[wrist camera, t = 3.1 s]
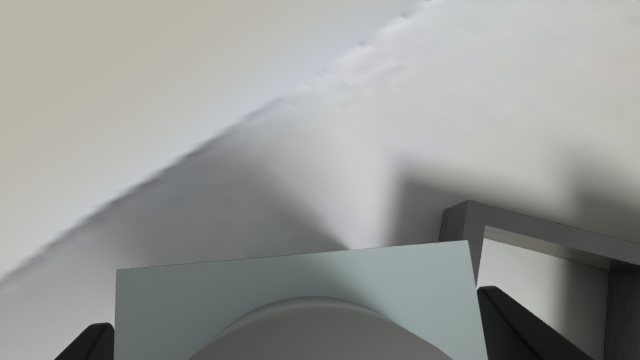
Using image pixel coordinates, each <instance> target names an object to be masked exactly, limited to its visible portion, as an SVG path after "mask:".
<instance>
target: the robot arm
mask: <svg viewBox="0 0 640 360" xmlns="http://www.w3.org/2000/svg"><path fill="white" fill-rule="evenodd" d="M477 298H478V303H479V309H480V315H481V321H482V327H483V333H484V339H485V345H486V351H487V357H488V360H594V359H593V358H591V357H590V356H589V355H587V354H586V353H585V352H583V351H582V350H581V349H579V348H578V347H577V346H575V345H574V344H573V343H571V342H570V341H569V340H567V339H566V338H565V337H563V336H562V335H561V334H559V333H558V332H557V331H555V330H554V329H553V328H551V327H550V326H549V325H547V324H546V323H545V322H543V321H542V320H541V319H539V318H538V317H537V316H535V315H534V314H533V313H531V312H530V311H529V310H527V309H526V308H525V307H523V306H522V305H521V304H519V303H518V302H517V301H515V300H514V299H513V298H511V297H510V296H509V295H507V294H506V293H505V292H503V291H502V290H501V289H499V288H498V287H496V286H484V287H479V288H478V290H477ZM114 335H115V330H114V328H113V326H112V325H111V324H110V323H107V322H106V323H95V324H92V325H90V326H88V327H87V328H86V329H85V330H84V331H83V332H82V333H81V334H80V335H79V336H78V337H77V338H76V339H75V340H74V341H73V342H72V343H71V344H70V345H69V346H68V347H67V348H66V349H65V350H63V351H62V352H61V353H60V354H59V355H58V356H57V357H56V358H55V359H54V360H114Z"/></svg>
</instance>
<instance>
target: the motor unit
mask: <svg viewBox="0 0 640 360" xmlns="http://www.w3.org/2000/svg"><path fill="white" fill-rule="evenodd" d="M483 238H486V239H490V240H494V241H498V242H502V243H506V244H510V245H514V246H517V247H521V248H525V249H529V250H533V251H537V252H541V253H544V254H548V255H552V256H556V257H560V258H564V259H568V260H572V261H575V262H579V263H583V264H587V265H591V266H595V267H599V268H602V269H606V270H610V274H609V289H608V304H607V319H606V333H605V348H604V360H640V244H636V243H632V242H628V241H624V240H620V239H616V238H612V237H609V236H605V235H601V234H597V233H593V232H589V231H585V230H582V229H578V228H574V227H570V226H566V225H562V224H558V223H554V222H551V221H547V220H543V219H539V218H535V217H531V216H527V215H524V214H520V213H516V212H512V211H508V210H504V209H500V208H496V207H493V206H489V205H485V204H481V203H477V202H473V201H469V200H468V201H465V202H463V203H460V204H457V205H455V206H452V207H450V208H447V209H445V210H444V214H443V220H442V225H441V231H440V237H439V242H451V241H463V240H468V244H469V250H470V256H471V262H472V268H473V274H474V280H475V286H476V285H477V278H478V272H479V265H480V258H481V251H482V245H483ZM439 242H438V243H439Z"/></svg>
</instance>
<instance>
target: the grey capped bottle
mask: <svg viewBox="0 0 640 360" xmlns="http://www.w3.org/2000/svg"><path fill="white" fill-rule="evenodd" d="M114 360H488V357H487V351H486V345H485V339H484V333H483V327H482V321H481V315H480V309H479V303H478V298H477V292H476V286H475V280H474V274H473V268H472V262H471V256H470V250H469V244H468V240H463V241H451V242H439V243H427V244H415V245H403V246H392V247H380V248H368V249H356V250H344V251H332V252H321V253H309V254H297V255H285V256H273V257H261V258H250V259H238V260H226V261H214V262H202V263H190V264H179V265H167V266H155V267H143V268H131V269H119V270H117V273H116V304H115V335H114Z"/></svg>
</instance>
